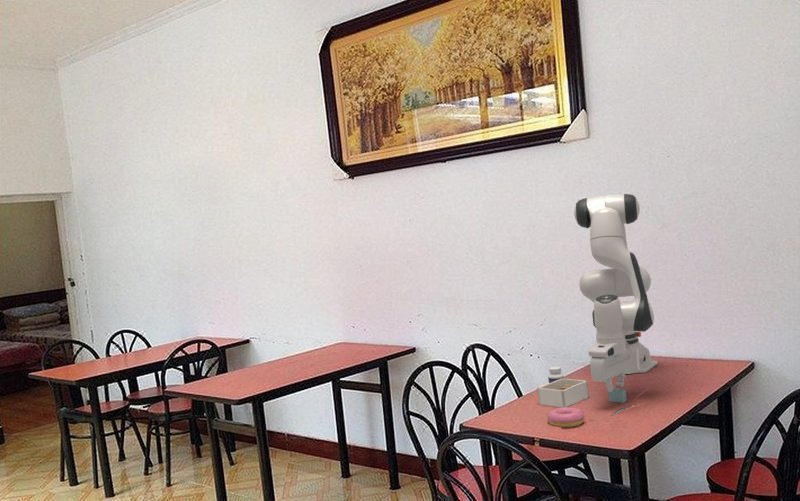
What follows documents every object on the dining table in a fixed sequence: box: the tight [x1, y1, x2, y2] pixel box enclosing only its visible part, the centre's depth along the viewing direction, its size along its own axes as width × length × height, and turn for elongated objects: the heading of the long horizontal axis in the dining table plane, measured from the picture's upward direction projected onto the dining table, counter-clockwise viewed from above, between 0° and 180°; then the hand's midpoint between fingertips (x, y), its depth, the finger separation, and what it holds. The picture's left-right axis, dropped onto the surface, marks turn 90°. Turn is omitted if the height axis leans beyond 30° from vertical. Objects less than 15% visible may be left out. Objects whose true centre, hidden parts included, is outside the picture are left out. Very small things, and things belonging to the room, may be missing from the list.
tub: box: [536, 378, 590, 408], centre depth 234 cm, size 14×10×6 cm
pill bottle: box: [547, 366, 565, 384], centre depth 247 cm, size 5×5×9 cm
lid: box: [608, 387, 632, 417], centre depth 223 cm, size 15×11×5 cm
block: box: [560, 385, 574, 390], centre depth 236 cm, size 4×4×4 cm
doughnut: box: [546, 406, 585, 429], centre depth 212 cm, size 11×11×4 cm
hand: (615, 389), depth 226 cm, fingers open, 4 cm apart
